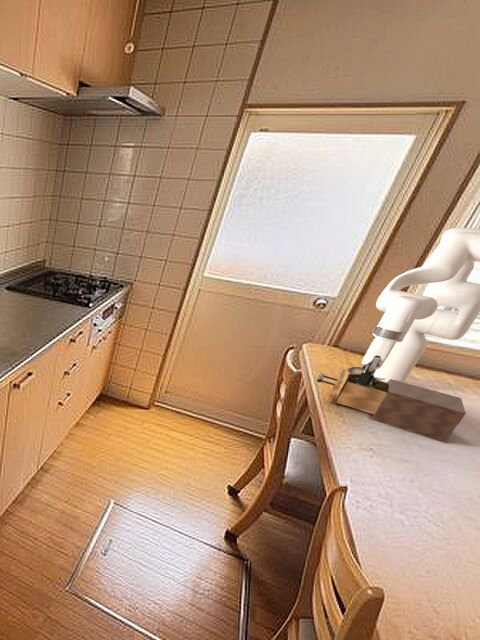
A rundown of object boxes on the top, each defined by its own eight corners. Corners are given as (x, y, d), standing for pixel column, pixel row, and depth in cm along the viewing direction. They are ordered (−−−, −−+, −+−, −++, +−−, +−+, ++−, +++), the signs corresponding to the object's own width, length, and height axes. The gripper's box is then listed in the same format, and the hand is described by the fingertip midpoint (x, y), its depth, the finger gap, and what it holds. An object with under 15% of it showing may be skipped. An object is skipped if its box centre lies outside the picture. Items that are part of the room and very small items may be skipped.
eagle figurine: (360, 391, 150) (340, 372, 152) (381, 379, 147) (361, 359, 149) (369, 395, 144) (349, 375, 145) (391, 381, 141) (370, 361, 142)
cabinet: (371, 419, 142) (388, 391, 137) (373, 405, 152) (389, 378, 147) (444, 442, 132) (465, 413, 127) (441, 425, 141) (461, 398, 136)
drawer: (308, 395, 153) (320, 374, 149) (314, 385, 162) (324, 364, 158) (387, 420, 140) (401, 397, 136) (388, 407, 149) (401, 385, 145)
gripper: (375, 325, 146) (351, 370, 155) (373, 336, 135) (347, 384, 143) (404, 331, 142) (377, 377, 150) (404, 343, 131) (375, 392, 139)
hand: (362, 380), depth 147 cm, fingers closed on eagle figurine, 8 cm apart
